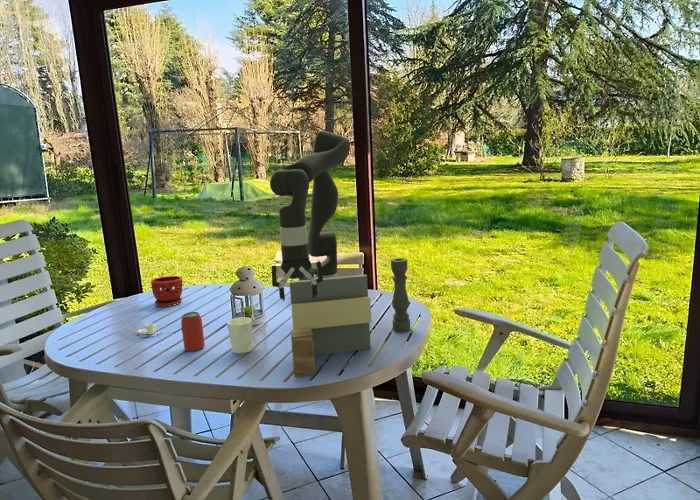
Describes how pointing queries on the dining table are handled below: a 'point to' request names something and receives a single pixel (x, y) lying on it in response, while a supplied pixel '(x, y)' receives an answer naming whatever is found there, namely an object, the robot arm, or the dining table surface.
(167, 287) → the plant pot
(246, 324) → the white cup
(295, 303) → the wall board
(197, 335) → the beer can
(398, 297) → the candle holder
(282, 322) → the dining table surface
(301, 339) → the cabinet
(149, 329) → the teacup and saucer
